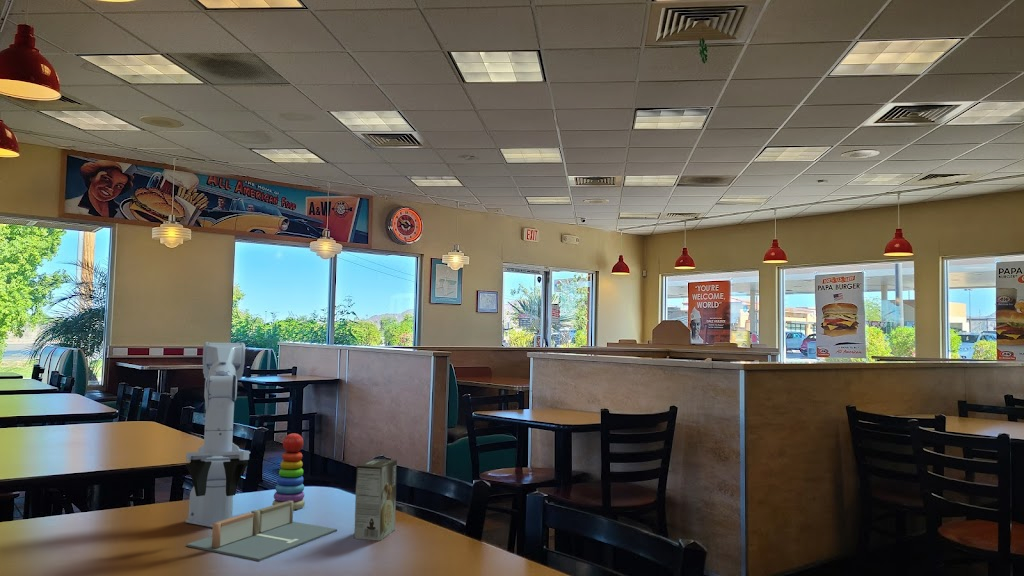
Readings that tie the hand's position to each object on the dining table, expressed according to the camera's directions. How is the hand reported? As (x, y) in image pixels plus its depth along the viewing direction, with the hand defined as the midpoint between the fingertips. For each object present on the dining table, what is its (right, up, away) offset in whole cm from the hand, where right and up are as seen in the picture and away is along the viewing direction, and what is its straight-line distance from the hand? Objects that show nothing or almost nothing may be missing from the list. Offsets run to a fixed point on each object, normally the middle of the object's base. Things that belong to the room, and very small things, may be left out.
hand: (215, 495), depth 151 cm
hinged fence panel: (+4, -9, -1) cm, 10 cm away
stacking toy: (+6, -12, +30) cm, 33 cm away
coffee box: (+32, -11, +8) cm, 35 cm away
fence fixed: (+9, -11, +10) cm, 17 cm away
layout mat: (+9, -10, +3) cm, 14 cm away
